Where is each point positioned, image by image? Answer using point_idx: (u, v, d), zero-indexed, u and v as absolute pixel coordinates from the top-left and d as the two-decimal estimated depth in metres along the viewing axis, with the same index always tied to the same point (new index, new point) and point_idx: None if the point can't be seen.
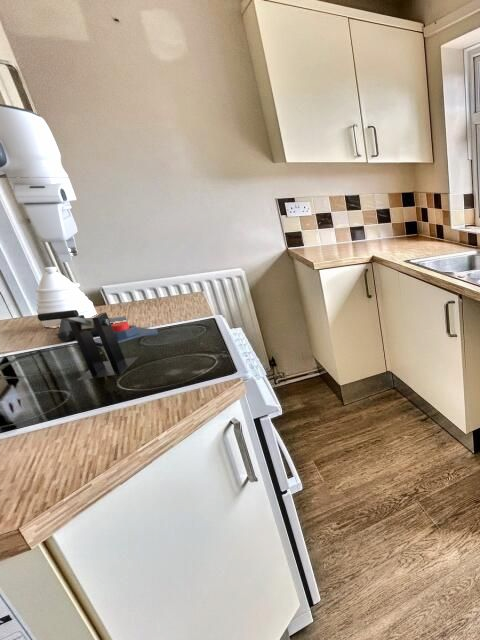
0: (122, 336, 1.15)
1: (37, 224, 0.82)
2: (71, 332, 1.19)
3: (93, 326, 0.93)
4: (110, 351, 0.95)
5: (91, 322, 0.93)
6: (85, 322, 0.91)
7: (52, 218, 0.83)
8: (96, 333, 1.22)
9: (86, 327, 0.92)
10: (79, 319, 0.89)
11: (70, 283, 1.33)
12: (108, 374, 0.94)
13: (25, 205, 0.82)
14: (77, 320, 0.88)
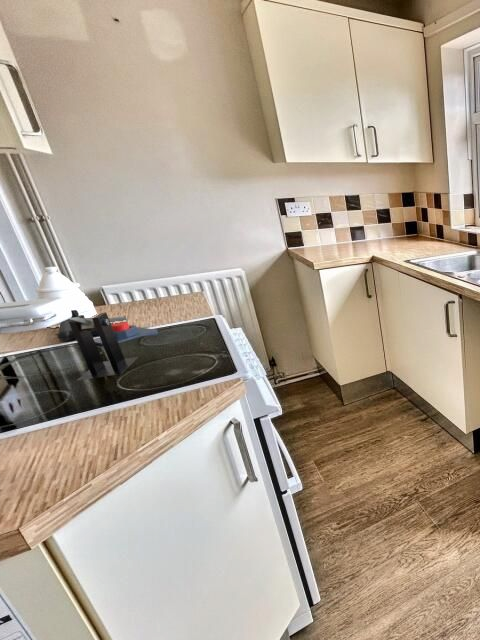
0: (122, 336, 1.15)
1: None
2: (71, 332, 1.19)
3: (93, 326, 0.93)
4: (110, 351, 0.95)
5: (91, 322, 0.93)
6: (85, 322, 0.91)
7: None
8: (96, 333, 1.22)
9: (86, 327, 0.92)
10: (79, 319, 0.89)
11: (70, 283, 1.33)
12: (108, 374, 0.94)
13: None
14: (77, 320, 0.88)
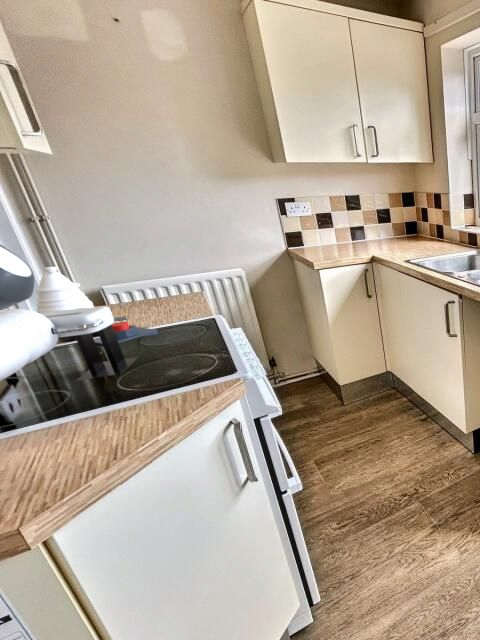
0: (122, 336, 1.15)
1: None
2: None
3: None
4: (110, 351, 0.95)
5: None
6: None
7: None
8: (96, 333, 1.22)
9: None
10: None
11: (70, 283, 1.33)
12: (108, 374, 0.94)
13: None
14: None
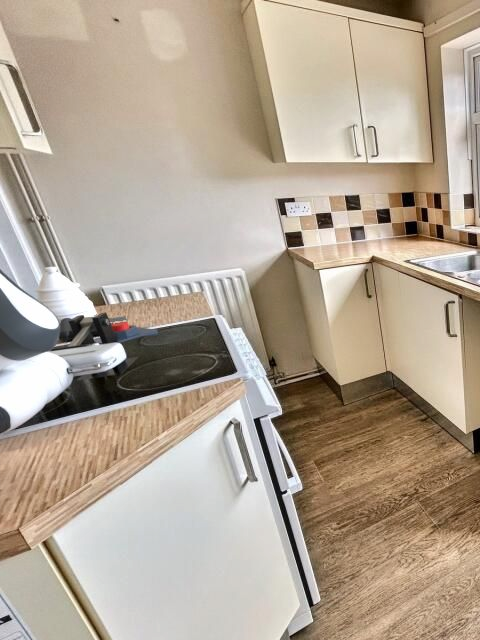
0: (122, 336, 1.15)
1: None
2: (71, 332, 1.19)
3: (96, 329, 0.94)
4: None
5: (92, 326, 0.93)
6: (89, 331, 0.92)
7: None
8: (96, 333, 1.22)
9: None
10: (84, 336, 0.90)
11: (70, 283, 1.33)
12: (108, 374, 0.94)
13: None
14: (84, 338, 0.90)
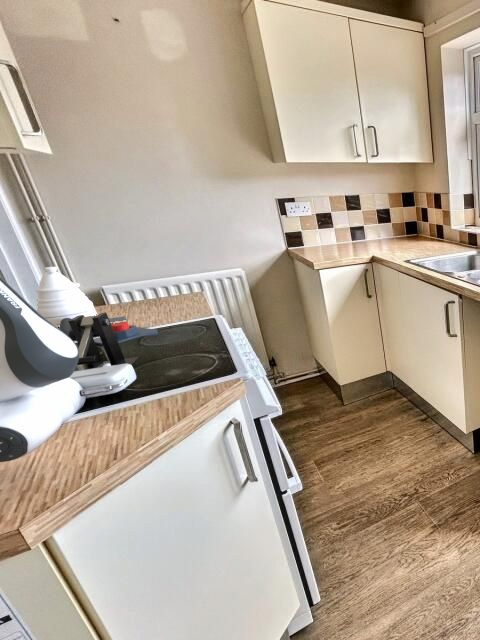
0: (122, 336, 1.15)
1: None
2: (71, 332, 1.19)
3: None
4: (110, 351, 0.95)
5: (93, 327, 0.93)
6: (91, 334, 0.92)
7: None
8: (96, 333, 1.22)
9: None
10: (88, 341, 0.91)
11: (70, 283, 1.33)
12: None
13: None
14: (88, 344, 0.91)
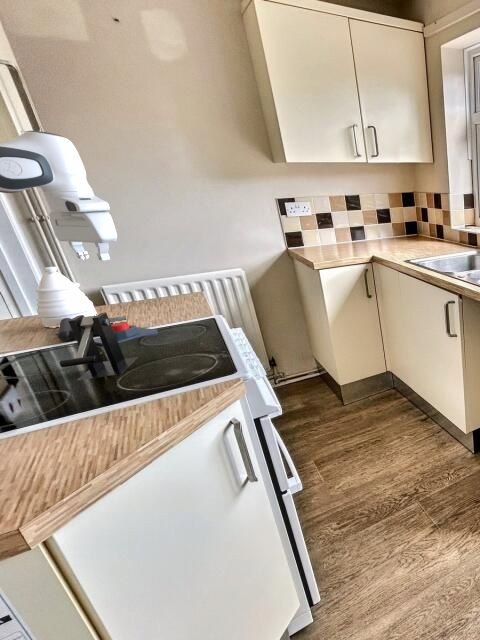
0: (122, 336, 1.15)
1: (98, 228, 1.03)
2: (71, 332, 1.19)
3: None
4: (110, 351, 0.95)
5: (93, 327, 0.93)
6: (91, 334, 0.92)
7: (108, 223, 1.04)
8: (96, 333, 1.22)
9: None
10: (88, 341, 0.91)
11: (70, 283, 1.33)
12: (108, 374, 0.94)
13: (85, 213, 1.01)
14: (88, 344, 0.91)
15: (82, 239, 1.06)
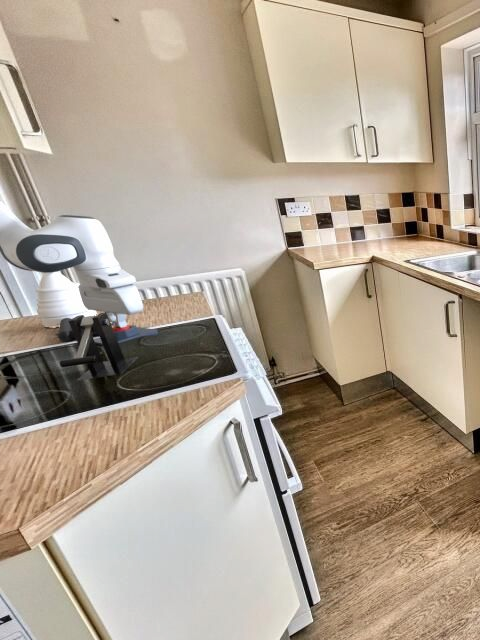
0: (122, 336, 1.15)
1: (126, 302, 1.10)
2: (71, 332, 1.19)
3: None
4: (110, 351, 0.95)
5: (93, 327, 0.93)
6: (91, 334, 0.92)
7: (135, 296, 1.11)
8: (96, 333, 1.22)
9: None
10: (88, 341, 0.91)
11: (70, 283, 1.33)
12: (108, 374, 0.94)
13: (114, 289, 1.08)
14: (88, 344, 0.91)
15: (110, 310, 1.13)
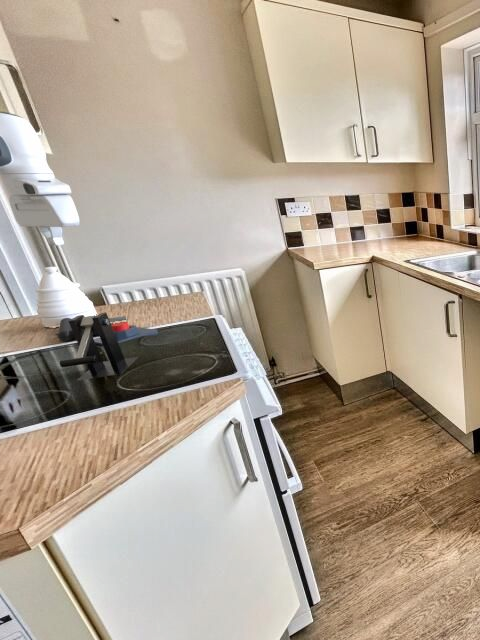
0: (122, 336, 1.15)
1: (58, 211, 0.99)
2: (71, 332, 1.19)
3: None
4: (110, 351, 0.95)
5: (93, 327, 0.93)
6: (91, 334, 0.92)
7: (69, 207, 1.01)
8: (96, 333, 1.22)
9: None
10: (88, 341, 0.91)
11: (70, 283, 1.33)
12: (108, 374, 0.94)
13: (44, 196, 0.98)
14: (88, 344, 0.91)
15: (43, 223, 1.03)
